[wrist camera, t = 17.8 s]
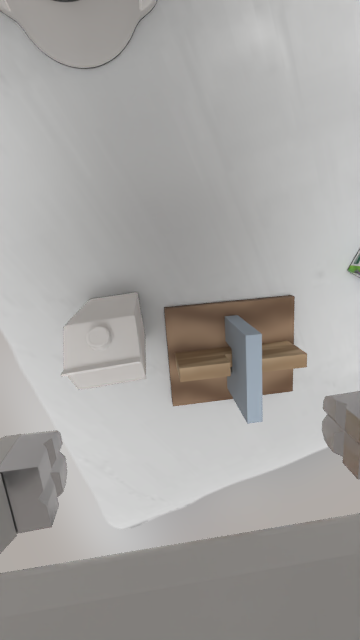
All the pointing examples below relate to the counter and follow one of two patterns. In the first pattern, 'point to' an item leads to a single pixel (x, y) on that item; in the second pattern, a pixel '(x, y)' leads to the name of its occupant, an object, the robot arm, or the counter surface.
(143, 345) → the milk carton
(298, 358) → the rail stand
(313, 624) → the robot arm
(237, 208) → the counter surface
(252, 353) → the slotted plate
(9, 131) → the counter surface
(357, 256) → the syrup box
